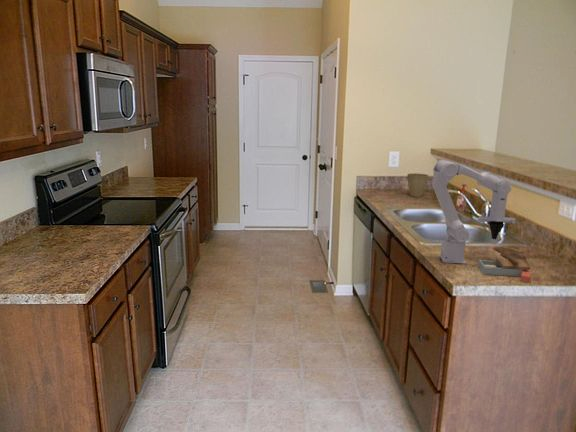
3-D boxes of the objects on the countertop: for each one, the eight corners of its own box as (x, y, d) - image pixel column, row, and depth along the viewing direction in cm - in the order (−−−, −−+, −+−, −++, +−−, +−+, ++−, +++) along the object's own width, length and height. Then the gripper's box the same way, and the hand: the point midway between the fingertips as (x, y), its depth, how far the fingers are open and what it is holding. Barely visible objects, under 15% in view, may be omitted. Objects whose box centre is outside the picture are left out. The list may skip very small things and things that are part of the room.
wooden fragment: (489, 246, 218) (489, 244, 218) (512, 247, 217) (513, 245, 217) (512, 265, 193) (512, 263, 193) (538, 266, 192) (539, 264, 192)
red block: (520, 281, 175) (521, 275, 174) (521, 274, 182) (522, 268, 182) (529, 283, 174) (530, 277, 173) (530, 276, 181) (531, 270, 180)
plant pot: (430, 197, 330) (432, 175, 326) (413, 198, 326) (414, 176, 322) (419, 193, 344) (420, 172, 340) (401, 194, 340) (403, 173, 336)
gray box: (484, 274, 181) (485, 267, 180) (477, 266, 190) (478, 259, 189) (521, 276, 179) (522, 269, 178) (513, 268, 188) (514, 262, 187)
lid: (502, 268, 179) (503, 262, 179) (495, 260, 188) (496, 254, 187) (529, 269, 178) (530, 263, 177) (521, 262, 187) (522, 256, 186)
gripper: (482, 209, 189) (478, 240, 192) (519, 210, 187) (514, 242, 191) (478, 205, 196) (474, 235, 199) (513, 206, 194) (509, 237, 197)
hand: (493, 238), depth 195 cm, fingers closed
